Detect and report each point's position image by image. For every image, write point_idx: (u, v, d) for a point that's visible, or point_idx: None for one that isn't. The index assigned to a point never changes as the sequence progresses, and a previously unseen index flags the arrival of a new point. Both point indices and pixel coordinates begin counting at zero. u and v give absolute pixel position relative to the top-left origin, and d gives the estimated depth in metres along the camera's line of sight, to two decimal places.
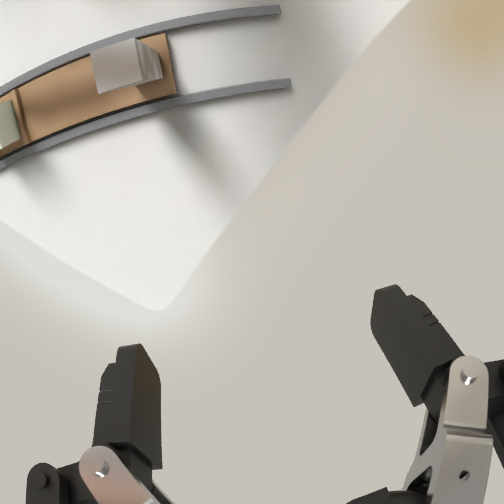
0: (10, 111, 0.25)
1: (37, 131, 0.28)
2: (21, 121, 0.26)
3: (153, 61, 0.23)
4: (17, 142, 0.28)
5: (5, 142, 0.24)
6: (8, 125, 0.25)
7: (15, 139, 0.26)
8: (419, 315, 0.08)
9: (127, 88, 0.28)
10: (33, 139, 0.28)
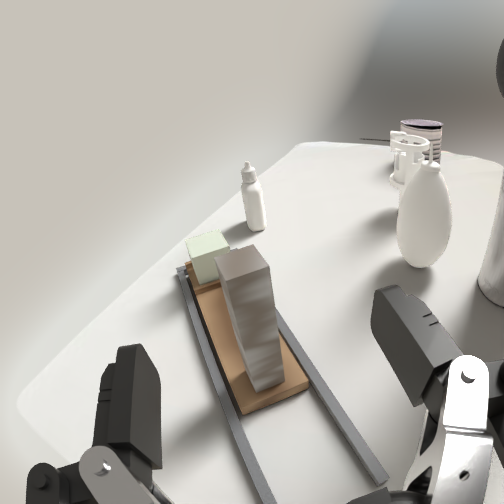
0: None
1: (204, 298, 0.41)
2: (214, 283, 0.42)
3: (265, 349, 0.25)
4: (197, 284, 0.43)
5: (196, 263, 0.40)
6: (211, 269, 0.41)
7: (199, 277, 0.41)
8: (419, 315, 0.08)
9: (241, 363, 0.31)
10: (197, 296, 0.41)
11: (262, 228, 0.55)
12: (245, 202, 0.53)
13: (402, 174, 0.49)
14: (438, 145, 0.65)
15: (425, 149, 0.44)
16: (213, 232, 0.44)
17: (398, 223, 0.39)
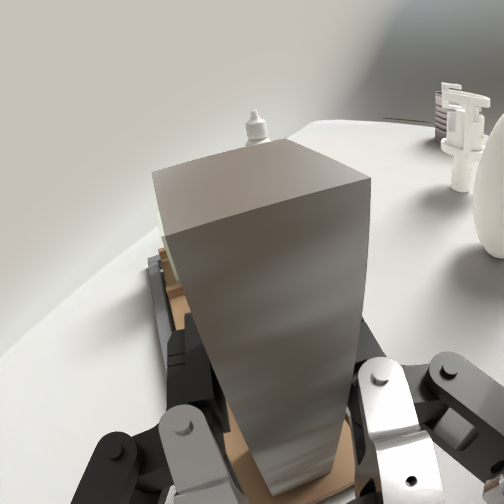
0: None
1: (181, 305, 0.24)
2: None
3: (304, 443, 0.09)
4: (173, 282, 0.27)
5: None
6: None
7: (175, 270, 0.25)
8: None
9: None
10: (172, 301, 0.24)
11: None
12: None
13: (460, 137, 0.32)
14: None
15: (487, 105, 0.28)
16: None
17: (480, 190, 0.22)
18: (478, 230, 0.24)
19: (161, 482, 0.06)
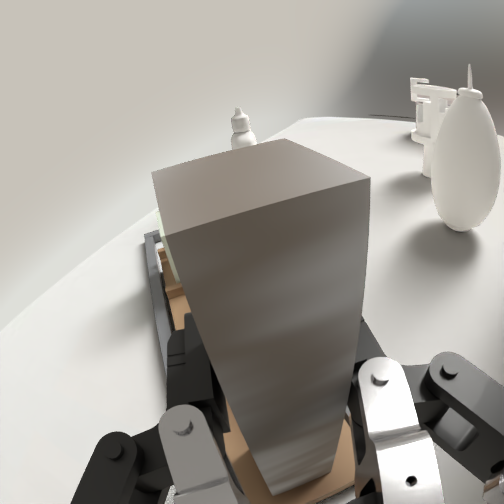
0: None
1: (181, 305, 0.24)
2: None
3: (304, 443, 0.09)
4: (173, 282, 0.27)
5: None
6: None
7: (174, 270, 0.25)
8: None
9: None
10: (171, 301, 0.24)
11: None
12: None
13: (427, 126, 0.37)
14: None
15: (453, 96, 0.33)
16: None
17: (434, 168, 0.27)
18: (436, 205, 0.29)
19: (161, 482, 0.06)
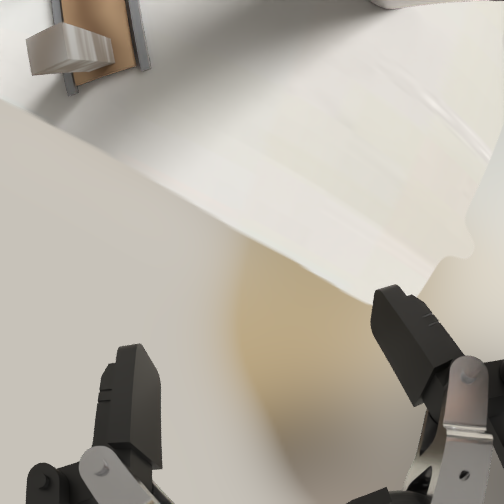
0: None
1: None
2: None
3: (86, 66, 0.22)
4: None
5: None
6: None
7: None
8: (419, 315, 0.08)
9: None
10: None
11: None
12: None
13: None
14: None
15: None
16: None
17: None
18: None
19: None
